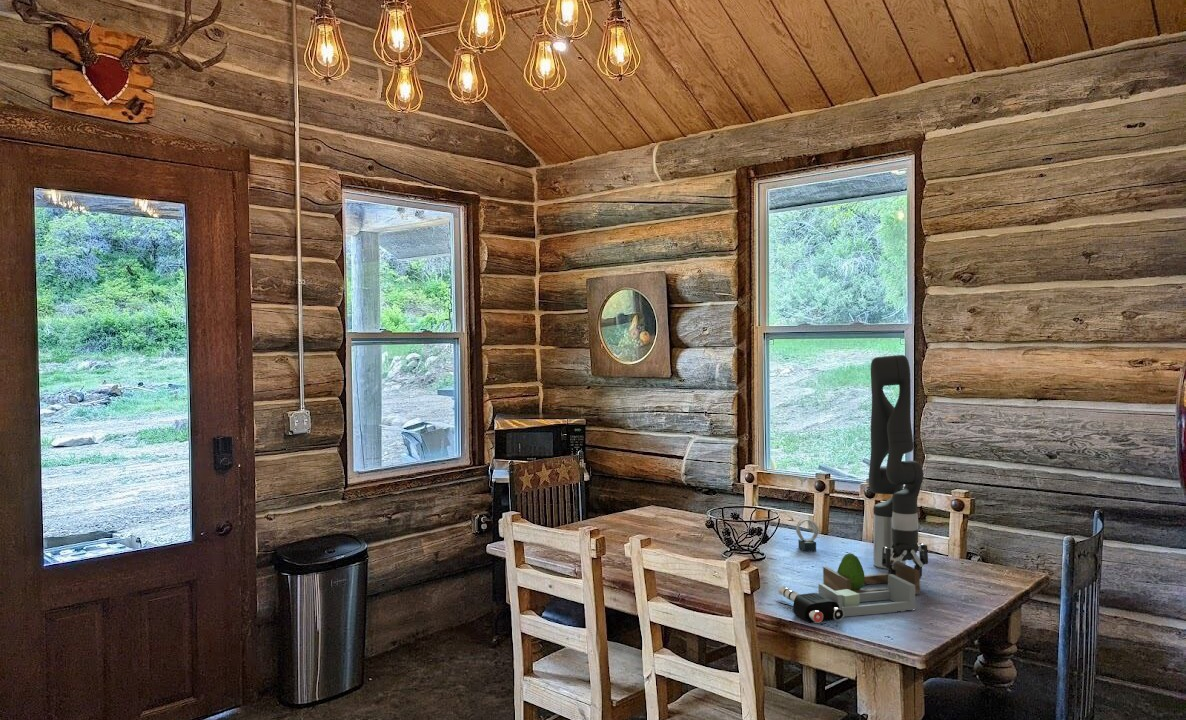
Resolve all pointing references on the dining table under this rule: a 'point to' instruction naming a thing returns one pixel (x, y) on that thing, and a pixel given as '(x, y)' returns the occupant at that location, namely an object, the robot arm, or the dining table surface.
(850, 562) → the avocado
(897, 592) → the grey open rectangular frame
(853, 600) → the sage block
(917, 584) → the frame
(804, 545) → the silver ring on block
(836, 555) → the dining table surface
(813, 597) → the audio adapter
